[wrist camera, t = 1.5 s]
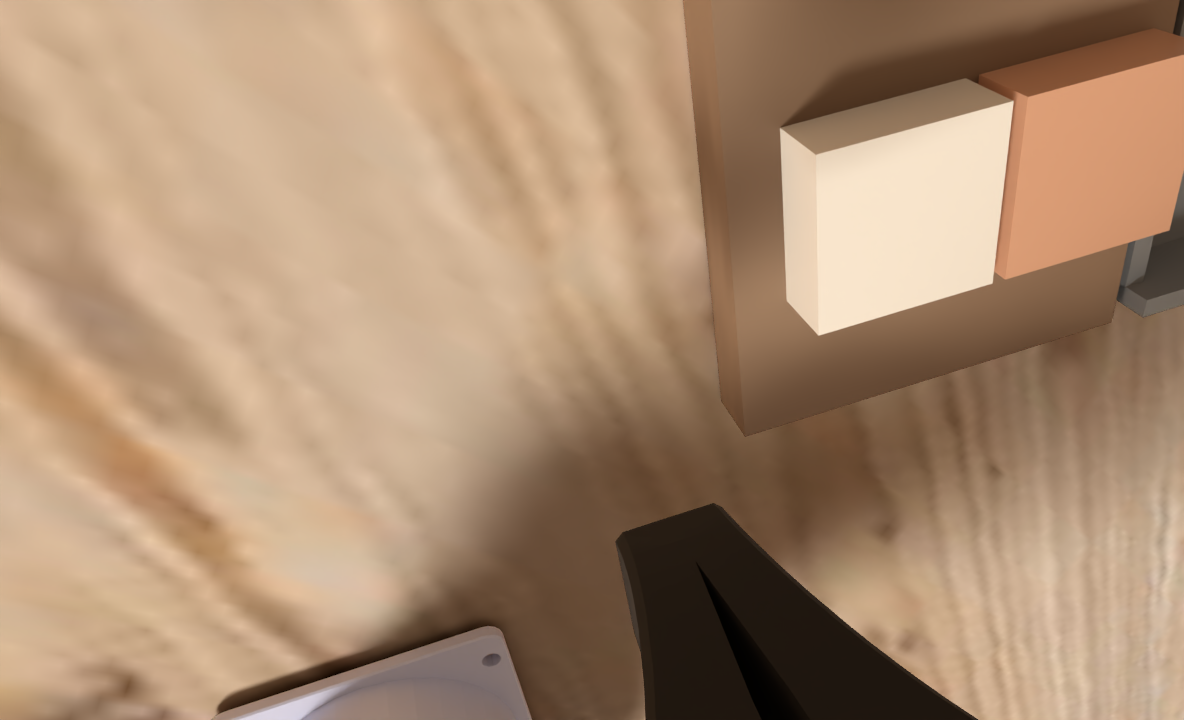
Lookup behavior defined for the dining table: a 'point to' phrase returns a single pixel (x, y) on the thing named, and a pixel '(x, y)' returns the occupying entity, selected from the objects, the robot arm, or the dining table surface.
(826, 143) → the offwhite tile
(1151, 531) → the dining table surface
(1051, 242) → the terracotta tile
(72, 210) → the dining table surface
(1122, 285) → the tray
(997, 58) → the walnut board
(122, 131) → the dining table surface
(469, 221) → the dining table surface
